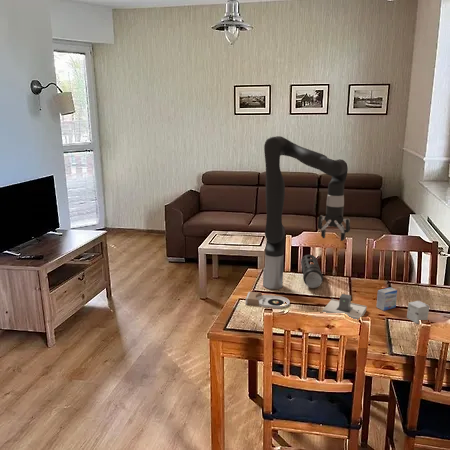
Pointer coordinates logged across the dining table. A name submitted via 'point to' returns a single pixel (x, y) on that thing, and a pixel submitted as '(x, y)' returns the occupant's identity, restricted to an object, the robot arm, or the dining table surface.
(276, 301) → the record player
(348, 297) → the charger
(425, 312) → the skincare box
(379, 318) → the dining table surface
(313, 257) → the muzzle brake
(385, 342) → the dining table surface
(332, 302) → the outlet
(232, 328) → the dining table surface
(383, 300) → the medicine box
